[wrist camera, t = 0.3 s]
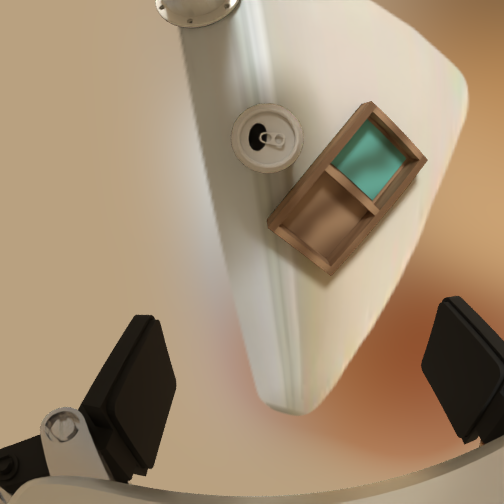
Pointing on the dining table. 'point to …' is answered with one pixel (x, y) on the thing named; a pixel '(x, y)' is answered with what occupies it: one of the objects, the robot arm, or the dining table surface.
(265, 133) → the can
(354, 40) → the dining table surface
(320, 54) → the dining table surface
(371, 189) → the tray
